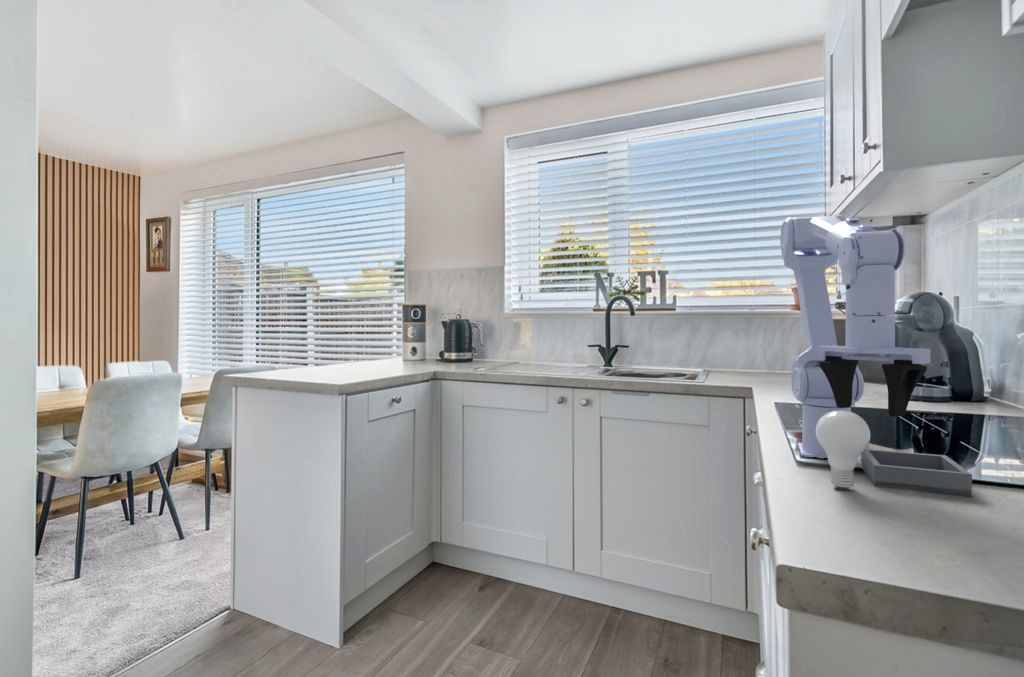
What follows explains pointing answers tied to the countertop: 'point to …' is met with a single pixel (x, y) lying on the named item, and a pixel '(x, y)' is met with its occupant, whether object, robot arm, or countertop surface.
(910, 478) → the tray
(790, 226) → the robot arm
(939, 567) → the countertop surface
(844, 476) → the lightbulb
